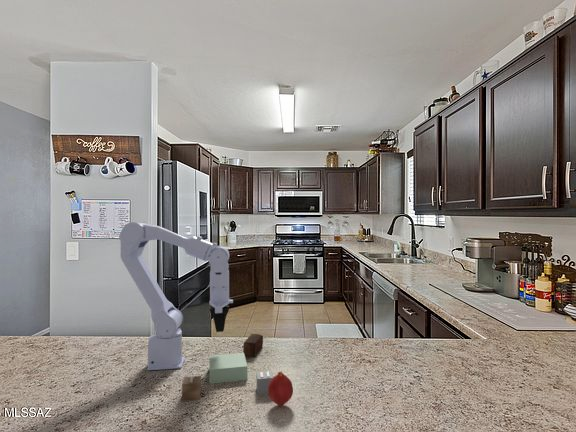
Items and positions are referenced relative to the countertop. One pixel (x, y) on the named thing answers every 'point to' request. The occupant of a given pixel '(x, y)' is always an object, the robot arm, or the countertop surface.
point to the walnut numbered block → (191, 388)
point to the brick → (253, 345)
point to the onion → (280, 389)
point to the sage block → (227, 368)
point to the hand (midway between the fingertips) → (219, 331)
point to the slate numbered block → (263, 381)
